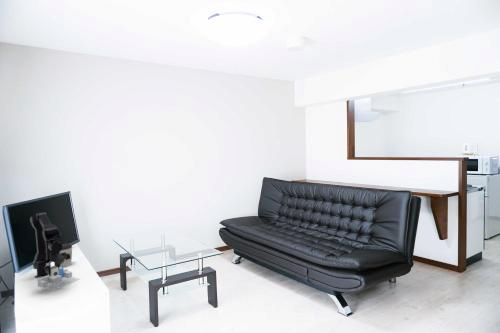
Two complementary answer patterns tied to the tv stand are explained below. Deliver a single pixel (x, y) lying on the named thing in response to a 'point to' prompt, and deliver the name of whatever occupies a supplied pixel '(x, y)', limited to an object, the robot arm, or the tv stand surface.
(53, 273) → the cream cube with dome
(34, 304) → the tv stand surface
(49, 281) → the grey backboard with ledge
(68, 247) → the coffee cup
